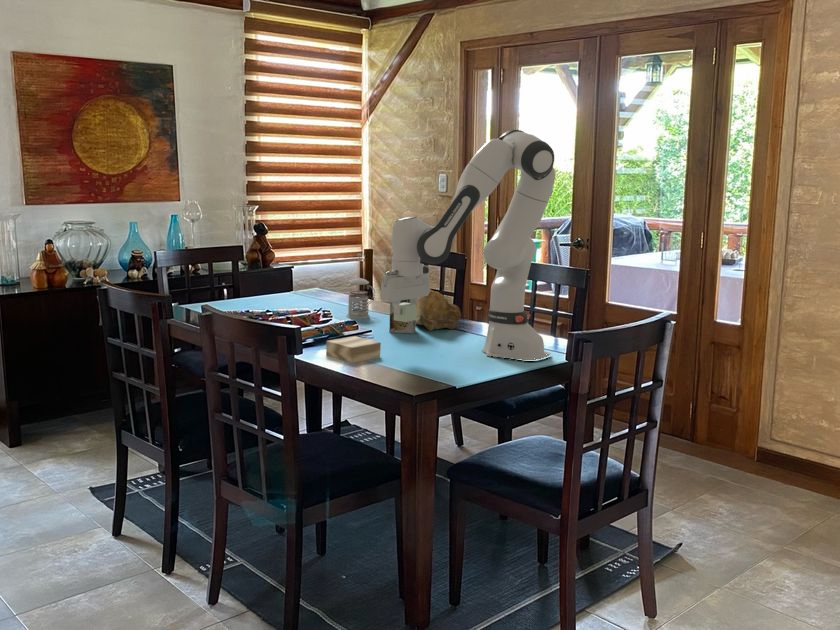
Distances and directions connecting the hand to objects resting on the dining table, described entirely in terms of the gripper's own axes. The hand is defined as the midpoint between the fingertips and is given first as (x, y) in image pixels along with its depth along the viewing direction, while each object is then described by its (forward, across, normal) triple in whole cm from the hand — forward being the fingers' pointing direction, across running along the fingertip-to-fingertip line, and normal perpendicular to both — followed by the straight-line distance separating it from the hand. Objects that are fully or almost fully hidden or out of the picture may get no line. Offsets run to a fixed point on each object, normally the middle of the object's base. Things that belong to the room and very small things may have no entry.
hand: (405, 313), depth 257 cm
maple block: (+14, -11, +12) cm, 22 cm away
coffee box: (+14, +30, +27) cm, 43 cm away
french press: (+13, +40, +57) cm, 71 cm away
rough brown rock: (+14, +46, +23) cm, 53 cm away
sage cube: (+2, 0, 0) cm, 2 cm away
